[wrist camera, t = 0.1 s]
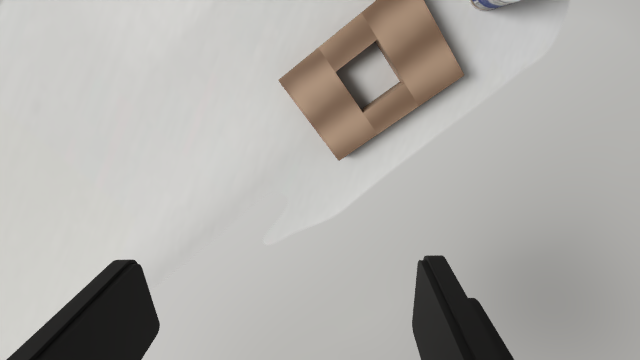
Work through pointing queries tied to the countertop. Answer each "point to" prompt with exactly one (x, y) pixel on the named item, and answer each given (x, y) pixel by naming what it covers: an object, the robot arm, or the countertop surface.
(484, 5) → the pill bottle
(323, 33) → the countertop surface
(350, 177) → the countertop surface
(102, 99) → the countertop surface
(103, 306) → the robot arm
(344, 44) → the socket block
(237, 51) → the countertop surface
